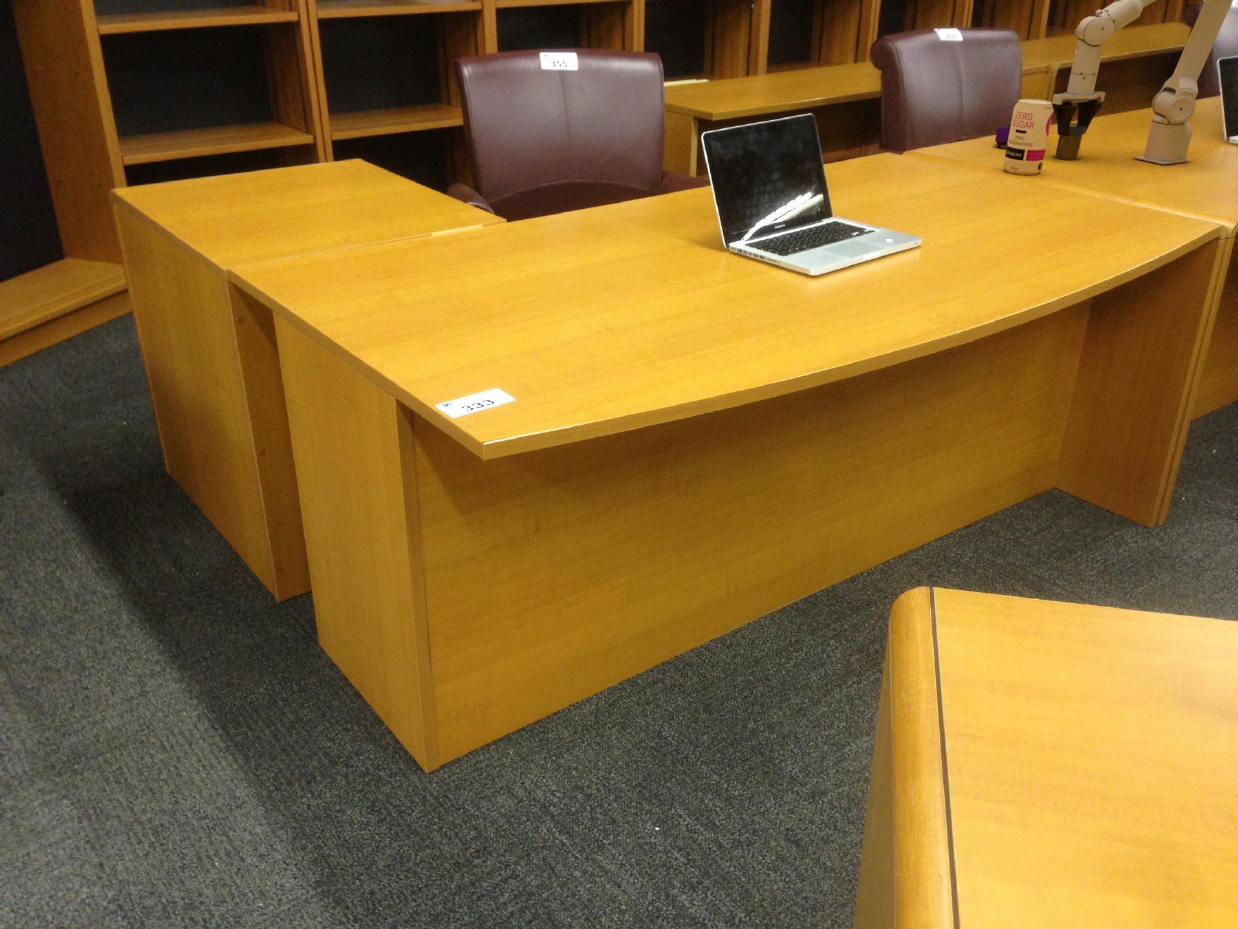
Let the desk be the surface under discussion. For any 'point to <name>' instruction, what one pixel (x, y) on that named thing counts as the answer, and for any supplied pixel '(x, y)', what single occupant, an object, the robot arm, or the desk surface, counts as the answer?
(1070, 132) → the lid
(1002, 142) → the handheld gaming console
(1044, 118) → the supplement can
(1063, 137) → the jar
